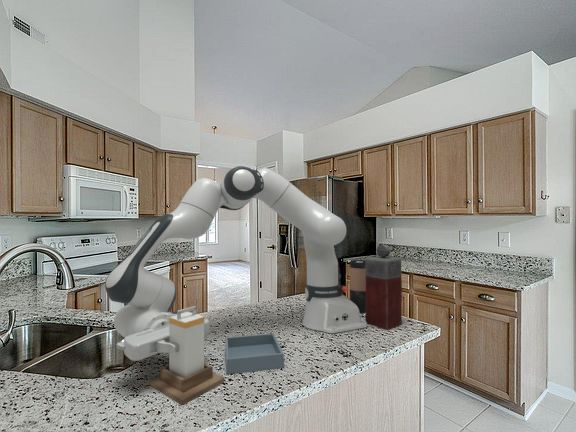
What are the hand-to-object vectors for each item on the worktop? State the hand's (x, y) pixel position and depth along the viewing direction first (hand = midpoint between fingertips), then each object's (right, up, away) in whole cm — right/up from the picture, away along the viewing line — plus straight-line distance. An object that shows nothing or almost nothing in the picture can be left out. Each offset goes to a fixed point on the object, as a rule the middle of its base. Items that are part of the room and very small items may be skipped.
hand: (189, 344), depth 70 cm
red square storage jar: (+57, -9, +40) cm, 71 cm away
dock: (-1, -9, 0) cm, 9 cm away
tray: (+13, -9, +13) cm, 20 cm away
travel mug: (+51, -10, +55) cm, 76 cm away
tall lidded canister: (-1, -8, 0) cm, 8 cm away
